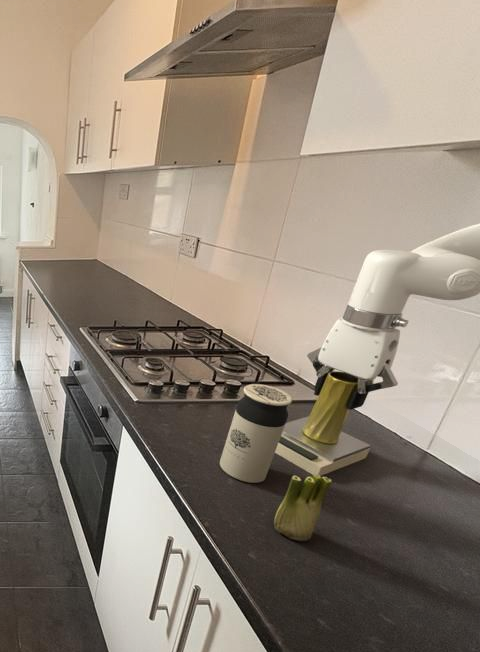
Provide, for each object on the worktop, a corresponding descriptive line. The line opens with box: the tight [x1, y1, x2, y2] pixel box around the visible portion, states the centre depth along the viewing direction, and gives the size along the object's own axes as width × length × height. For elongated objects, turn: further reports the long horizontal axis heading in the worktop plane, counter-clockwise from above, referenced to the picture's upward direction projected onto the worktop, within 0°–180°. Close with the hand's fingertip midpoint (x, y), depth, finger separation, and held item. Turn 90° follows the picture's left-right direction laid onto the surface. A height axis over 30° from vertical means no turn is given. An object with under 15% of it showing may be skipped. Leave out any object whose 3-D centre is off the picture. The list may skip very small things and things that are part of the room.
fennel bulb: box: [273, 474, 333, 542], centre depth 67 cm, size 6×5×12 cm
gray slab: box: [282, 415, 371, 462], centre depth 89 cm, size 12×12×1 cm
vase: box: [303, 370, 358, 444], centre depth 86 cm, size 6×6×14 cm
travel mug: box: [219, 383, 293, 484], centre depth 80 cm, size 8×8×18 cm
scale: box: [274, 434, 371, 477], centre depth 89 cm, size 16×12×3 cm
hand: (336, 399), depth 85 cm, fingers closed on vase, 5 cm apart
